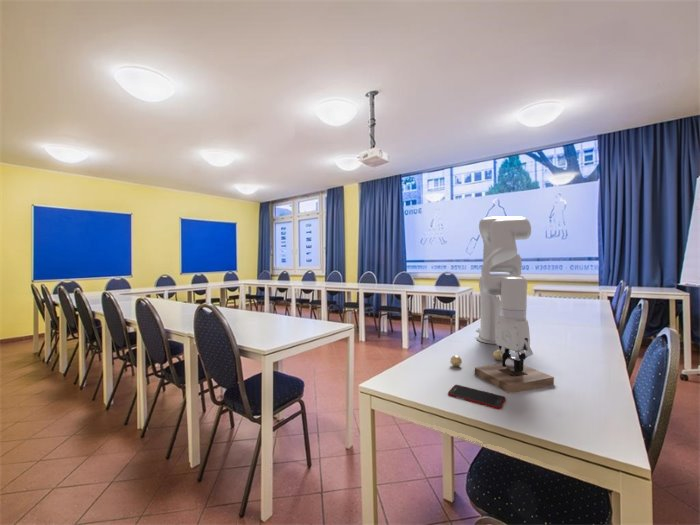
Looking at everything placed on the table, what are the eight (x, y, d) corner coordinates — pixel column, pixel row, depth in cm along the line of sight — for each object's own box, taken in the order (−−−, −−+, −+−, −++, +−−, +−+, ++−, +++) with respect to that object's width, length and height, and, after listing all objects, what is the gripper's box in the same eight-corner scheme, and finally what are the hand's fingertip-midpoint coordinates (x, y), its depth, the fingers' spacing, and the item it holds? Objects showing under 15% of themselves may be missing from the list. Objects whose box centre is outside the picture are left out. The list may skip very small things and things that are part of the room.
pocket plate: (474, 374, 107) (474, 367, 106) (514, 368, 112) (514, 361, 112) (509, 393, 92) (509, 385, 92) (553, 384, 98) (553, 377, 98)
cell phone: (501, 411, 83) (501, 407, 83) (446, 396, 92) (446, 393, 92) (506, 400, 89) (506, 396, 89) (455, 387, 98) (455, 384, 98)
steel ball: (501, 368, 104) (501, 355, 104) (512, 367, 105) (512, 353, 105) (512, 373, 99) (512, 359, 99) (523, 371, 101) (523, 358, 101)
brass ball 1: (448, 365, 116) (448, 354, 115) (457, 363, 117) (457, 353, 117) (455, 369, 112) (455, 358, 112) (464, 367, 113) (464, 356, 113)
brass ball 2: (490, 359, 122) (491, 349, 122) (498, 357, 123) (499, 347, 123) (498, 362, 118) (498, 352, 118) (506, 361, 119) (507, 351, 119)
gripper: (485, 310, 108) (484, 361, 109) (526, 320, 93) (525, 380, 93) (502, 308, 111) (501, 359, 111) (545, 318, 95) (544, 377, 96)
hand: (512, 368), depth 102 cm, fingers closed on steel ball, 4 cm apart
